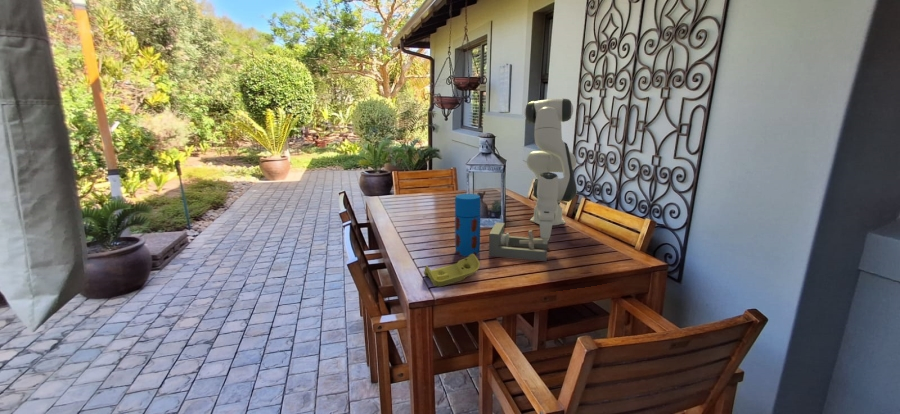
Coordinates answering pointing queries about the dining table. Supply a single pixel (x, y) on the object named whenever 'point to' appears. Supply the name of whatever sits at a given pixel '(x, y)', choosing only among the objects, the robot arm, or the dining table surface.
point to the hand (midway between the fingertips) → (545, 243)
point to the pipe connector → (531, 240)
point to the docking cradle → (511, 252)
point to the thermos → (467, 224)
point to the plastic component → (453, 271)
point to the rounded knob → (505, 239)
